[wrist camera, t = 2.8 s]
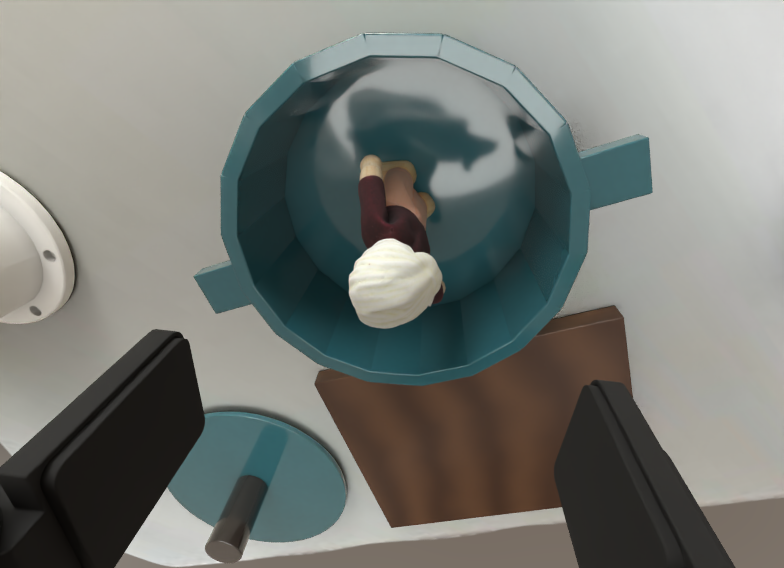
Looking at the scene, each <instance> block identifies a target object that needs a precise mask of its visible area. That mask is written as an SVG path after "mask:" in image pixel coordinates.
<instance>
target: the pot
mask: <svg viewBox="0 0 784 568" xmlns="http://www.w3.org/2000/svg"><path fill="white" fill-rule="evenodd" d="M367 155H376V156H377V157H379V158H380V159H381V162H388V161H399V160H406V161H409V162H411V163H412V164H413V165H414V167H415V170H416V175H417V177H416V181H415V183H414V184H413V188H414V189H415V190H416V191H417V193H419V192H425V193H428V194H429V195H430V196H431V198H432V199H433V201H434V203H435V210H434V212H433V213H432V214H431V215H430V216H429V217H428V218H427V220H426V234H427V238H428V242H429V246H430V256H432V257H433V258H434V259H435V261H436V263H437V265H438V267H439V269H440V271H441V273H442V281H443V282H444V284H445V287H446V289H445V292H444V295H443V298H442V300H441V301H440V302H439V303H436V304H431V306H428V307H427V308H426V309H425V310H424V311H423V312H422V313H421V314H420V315H419V316H417V317H416V318H415V319H414V320H411V321H409V322H407V323H404V324H401V325H398V326H396V327H393V328H387V329H383V328H375V327H371V326H368V325H366V324H364V323H363V322H361V321H360V319H359V317H358V315H357V313H356V309H355V308H354V306H353V304H352V301H351V299H350V296H349V275H350V274H351V272H352V271H353V270H354V264H355V261H356V260H357V259H359V258H361V256H362V255H363V253H364V252H365V251H366V250H367V247H366V246H365V244H364V242H363V239H362V235H361V207H360V201H359V195H358V185H359V181H360V172H361V169H360V163H361V161H362V159H363V158H364V157H365V156H367ZM652 192H653V191H652V177H651V162H650V148H649V138H648V137H646V136H643V135H640V134H636V135H633V136H630V137H627V138H623V139H620V140H617V141H614V142H611V143H607V144H604V145H601V146H598V147H594V148H591V149H588V150H585V151H581V152H578V150H577V147H576V144H575V142H574V139H573V136H572V133H571V130H570V127H569V124H568V123H567V121H566V120H565V119H564V117H563V116H562V115H561V114H560V113H559V112H558V111H557V110H556V109H555V108H554V107H553V105H552V104H551V103H550V102H549V101H548V100H547V99H546V98H545V97H544V96H543V95H542V93H541V92H540V91H539V90H538V89H537V88H536V87H535V86H534V85H533V84H532V83H531V81H530V80H529V79H528V78H527V77H526V76H525V75H524V74H523V73H522V72H521V71H520V69H519V68H518V67H516V66H515V65H513V64H511V63H509V62H506V61H504V60H502V59H500V58H497V57H495V56H493V55H491V54H488V53H486V52H484V51H482V50H479V49H477V48H475V47H473V46H471V45H468V44H466V43H464V42H462V41H459V40H457V39H455V38H453V37H450V36H448V35H446V34H441V33H361V34H359V35H357V36H354V37H352V38H350V39H347V40H345V41H342V42H340V43H338V44H335V45H333V46H331V47H328V48H326V49H323V50H321V51H319V52H316V53H314V54H312V55H309V56H307V57H304V58H302V59H300V60H297V61H295V62H294V63H293V64H291V65H290V66H289V67H288V68H287V69H286V70H285V72H284V73H283V74H282V75H281V76H280V77H279V78H278V79H277V80H276V81H275V82H274V83H273V84H272V85H271V86H270V87H269V88H268V89H267V90H266V91H265V92H264V93H263V94H262V96H261V97H260V98H259V99H258V100H257V101H256V102H255V103H254V104H253V105H252V106H251V107H250V108H249V109H248V110H247V111H246V112H245V115H244V116H243V119H242V121H241V124H240V126H239V129H238V132H237V134H236V137H235V139H234V142H233V145H232V147H231V150H230V152H229V155H228V158H227V160H226V163H225V165H224V168H223V171H222V175H221V236H222V239H223V242H224V245H225V247H226V250H227V253H228V255H229V258H230V260H229V261H226V262H222V263H219V264H216V265H213V266H209V267H206V268H203V269H202V270H200V271H199V272H198V273H197V274H196V275H195V276H194V278H195V280H196V282H197V283H198V285H199V287H200V288H201V290H202V292H203V293H204V295H205V296H206V298H207V300H208V301H209V303H210V305H211V306H212V308H213V310H214V311H215V313H216V314H217V313H221V312H225V311H228V310H232V309H236V308H239V307H243V306H246V305H250V304H252V305H253V306H254V307H255V308H256V310H257V311H258V312H259V313H260V315H261V316H262V317H263V319H264V320H265V321H266V322H267V324H268V325H269V326H270V328H271V329H272V330H273V331H274V332H275V334H276V335H278V336H279V337H281V338H282V339H283V340H285V341H286V342H288V343H289V344H291V345H292V346H293V347H295V348H296V349H298V350H299V351H300V352H302V353H303V354H305V355H306V356H307V357H309V358H310V359H312V360H313V361H314V362H316V363H317V364H320V365H322V366H325V367H327V368H330V369H333V370H336V371H339V372H341V373H344V374H347V375H350V376H353V377H355V378H358V379H361V380H364V381H367V382H368V381H369V382H373V383H386V384H400V385H413V386H425V385H430V384H435V383H440V382H445V381H450V380H455V379H460V378H465V377H470V376H473V375H475V374H477V373H479V372H481V371H483V370H485V369H487V368H489V367H490V366H492V365H494V364H496V363H498V362H500V361H502V360H504V359H506V358H507V357H509V356H511V355H513V354H515V353H517V352H519V351H521V349H523V348H524V347H525V346H526V345H527V344H528V343H529V342H530V341H531V340H532V339H533V338H534V337H535V336H536V335H537V334H538V333H539V332H540V331H541V330H542V329H543V327H544V326H545V325H546V324H547V323H548V322H549V321H550V320H551V319H552V318H553V317H554V316H555V315H556V314H557V313H558V312H559V311H560V310H561V308H562V307H563V305H564V303H565V301H566V298H567V296H568V294H569V292H570V290H571V287H572V285H573V283H574V281H575V279H576V277H577V274H578V272H579V270H580V268H581V266H582V263H583V261H584V259H585V257H586V254H587V250H588V233H589V216H590V210H593V209H596V208H600V207H604V206H607V205H611V204H614V203H618V202H622V201H625V200H629V199H632V198H636V197H640V196H643V195H647V194H651V193H652Z"/></svg>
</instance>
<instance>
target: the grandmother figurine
mask: <svg viewBox="0 0 784 568" xmlns="http://www.w3.org/2000/svg"><path fill="white" fill-rule="evenodd" d="M360 169H361V172H360V181H359V185H358V195H359V201H360V207H361V235H362V239H363V242H364V244H365V246H366V247H367V250H366V251H365V252H364V253H363V255H362V256H361V258H359V259H357V260H356V261H355V264H354V270H353V271H352V272H351V274H350V275H349V296H350V299H351V301H352V304H353V306H354V308H355V309H356V313H357V315H358V317H359V319H360V321H361V322H363V323H364V324H366V325H368V326H371V327H375V328H383V329H387V328H393V327H396V326H398V325H401V324H404V323H407V322H409V321H411V320H414V319H415V318H416V317H417V316H419V315H420V314H421V313H422V312H423V311H424V310H425V309H426V308H427V307H428V306H431V304H436V303H439V302H440V301H441V300H442V298H443V295H444V292H445V289H446V287H445V284H444V282H443V281H442V273H441V271H440V269H439V267H438V265H437V263H436V261H435V259H434V258H433V257H432V256H430V246H429V242H428V238H427V234H426V220H427V218H428V217H429V216H430V215H431V214H432V213H433V212H434V210H435V203H434V201H433V199H432V198H431V196H430V195H429V194H428V193H425V192H419V193H417V191H416V190H415V189H414V188H413V184H414V183H415V181H416V177H417V175H416V170H415V167H414V165H413V164H412V163H411V162H409V161H406V160H399V161H388V162H381V159H380V158H379V157H377V156H376V155H367V156H365V157H364V158H363V159H362V161H361V163H360Z"/></svg>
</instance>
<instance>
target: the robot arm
mask: <svg viewBox="0 0 784 568" xmlns="http://www.w3.org/2000/svg"><path fill="white" fill-rule="evenodd" d="M74 280H75V273H74V263H73V259H72V256H71V252H70V249H69V246H68V244H67V242H66V240H65V238H64V236H63V233H62V231H61V230H60V228H59V227H58V225H57V224H56V222H55V221H54V219H53V218H52V216H51V215H50V214H49V213H48V212H47V211H46V209H45V208H44V207H43V206H42V205H41V204H40V202H39V201H38V200H37V199H36V198H34V197H33V196H32V195H31V194H30V193H29V192H28V191H27V190H26V189H25V188H23V187H22V186H21V185H20V184H18V183H17V182H15V181H14V180H12V179H11V178H10V177H8V176H7V175H5V174H4V173H2V172H0V322H3V323H9V324H27V323H33V322H37V321H40V320H42V319H44V318H47V317H48V316H50V315H51V314H53V313H54V312H56V311H57V310H59V309H61V307H62V306H63V305H64V304H65V303H66V302H67V301H68V299H69V297H70V295H71V293H72V291H73V286H74ZM204 426H205V416H204V411H203V407H202V402H201V397H200V392H199V387H198V383H197V378H196V373H195V368H194V363H193V359H192V354H191V349H190V344H189V341H188V340H187V339H184V338H183V335H182V334H181V333H180V332H175V331H167V330H158V329H155V330H152V331H151V332H149V333H148V334H147V335H146V336H145V337H144V338H142V339H141V340H140V341H139V342H138V343H137V344H136V345H135V346H134V347H133V348H131V349H130V350H129V351H128V352H127V353H126V354H125V355H124V356H123V357H121V358H120V359H119V360H118V361H117V362H116V363H115V364H114V365H113V366H111V367H110V368H109V369H108V370H107V371H106V372H105V373H104V374H103V375H102V376H100V377H99V378H98V379H97V380H96V381H95V382H94V383H93V384H92V385H90V386H89V387H88V388H87V389H86V390H85V391H84V392H83V393H82V394H81V395H79V396H78V397H77V398H76V399H75V400H74V401H73V402H72V403H71V404H69V405H68V406H67V407H66V408H65V409H64V410H63V411H62V412H61V413H60V414H58V415H57V416H56V417H55V418H54V419H53V420H52V421H51V422H50V423H48V424H47V425H46V426H45V427H44V428H43V429H42V430H41V431H40V432H39V433H37V434H36V435H35V436H34V437H33V438H32V439H31V440H30V441H29V442H27V443H26V444H25V445H24V446H23V447H22V448H21V449H20V450H19V451H18V452H16V453H15V454H14V455H13V456H12V457H11V458H10V459H9V460H8V461H7V462H6V463H5V464H3V465H2V466H1V467H0V568H114V567H115V566H116V564H117V563H118V561H119V560H120V558H121V557H122V555H123V554H124V552H125V551H126V549H127V548H128V546H129V544H130V543H131V541H132V540H133V538H134V537H135V535H136V534H137V532H138V531H139V529H140V528H141V526H142V525H143V523H144V522H145V520H146V518H147V517H148V515H149V514H150V512H151V511H152V509H153V508H154V506H155V505H156V503H157V502H158V500H159V499H160V497H161V496H162V494H163V492H164V491H165V489H166V488H167V486H168V485H169V483H170V482H171V480H172V479H173V477H174V476H175V474H176V473H177V471H178V469H179V468H180V466H181V465H182V463H183V462H184V460H185V459H186V457H187V456H188V454H189V453H190V451H191V450H192V448H193V447H194V445H195V443H196V442H197V440H198V439H199V437H200V436H201V434H202V432H203V430H204ZM554 479H555V483H556V487H557V490H558V494H559V497H560V501H561V505H562V508H563V512H564V515H565V519H566V523H567V526H568V530H569V533H570V537H571V540H572V544H573V547H574V551H575V555H576V558H577V562H578V565H579V568H735V566H734V565H733V563H732V561H731V559H730V558H729V556H728V554H727V553H726V551H725V549H724V548H723V546H722V544H721V543H720V541H719V539H718V538H717V536H716V534H715V532H714V531H713V529H712V528H711V526H710V524H709V522H708V521H707V519H706V517H705V516H704V514H703V512H702V511H701V509H700V507H699V505H698V504H697V502H696V500H695V499H694V497H693V495H692V494H691V492H690V490H689V489H688V487H687V485H686V484H685V482H684V480H683V479H682V477H681V475H680V473H679V472H678V470H677V468H676V467H675V465H674V463H673V462H672V460H671V458H670V457H669V456H668V454H667V453H666V452H665V451H664V450H663V449H662V447H661V446H660V444H659V442H658V441H657V439H656V437H655V435H654V434H653V432H652V430H651V429H650V427H649V425H648V423H647V422H646V420H645V418H644V417H643V415H642V413H641V412H640V410H639V408H638V406H637V405H636V403H635V401H634V400H633V398H632V396H631V394H630V393H629V391H628V389H627V388H626V386H625V385H624V384H623V383H621V382H613V381H605V380H593V381H592V382H591V384H590V385H584V386H583V388H582V390H581V393H580V396H579V398H578V401H577V404H576V407H575V409H574V412H573V415H572V418H571V420H570V423H569V426H568V429H567V431H566V434H565V437H564V439H563V442H562V445H561V448H560V450H559V453H558V456H557V459H556V461H555V465H554Z"/></svg>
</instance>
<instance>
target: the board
mask: <svg viewBox="0 0 784 568" xmlns="http://www.w3.org/2000/svg"><path fill="white" fill-rule="evenodd" d="M593 380H605V381H613V382H621V383H623V384H624V385H625V386H626V388H627V389H628V391H629V393H630V394H631V396H632V398H633V395H632V386H631V377H630V368H629V360H628V351H627V342H626V334H625V325H624V317H623V316H622V315H621V313H620V312H619V311H618V309H617V308H616V307H615V306H611V307H606V308H602V309H597V310H593V311H588V312H584V313H579V314H575V315H570V316H566V317H561V318H557V319H553V320H550V321H549V322H548V323H547V324H546V325H545V326H544V327H543V329H542V330H541V331H540V332H539V333H538V334H537V335H536V336H535V337H534V338H533V339H532V340H531V341H530V342H529V343H528V344H527V345H526V346H525V347H524V348H523V349H521V351H519V352H517V353H515V354H513V355H511V356H509V357H507V358H506V359H504V360H502V361H500V362H498V363H496V364H494V365H492V366H490V367H489V368H487V369H485V370H483V371H481V372H479V373H477V374H475V375H473V376H470V377H465V378H460V379H455V380H450V381H445V382H440V383H435V384H430V385H425V386H413V385H400V384H386V383H373V382H369V381H368V382H367V381H364V380H361V379H358V378H355V377H353V376H350V375H347V374H344V373H341V372H339V371H336V370H333V369H329V370H324V371H320V372H319V373H318V376H317V378H316V381H315V386H316V388H317V390H318V392H319V394H320V396H321V398H322V399H323V401H324V403H325V405H326V407H327V409H328V411H329V412H330V414H331V416H332V418H333V420H334V422H335V424H336V425H337V427H338V429H339V431H340V433H341V435H342V437H343V439H344V440H345V442H346V444H347V446H348V448H349V450H350V452H351V453H352V455H353V457H354V459H355V461H356V463H357V465H358V466H359V468H360V470H361V472H362V474H363V476H364V478H365V480H366V481H367V483H368V485H369V487H370V489H371V491H372V493H373V494H374V496H375V498H376V500H377V502H378V504H379V506H380V507H381V509H382V511H383V513H384V515H385V517H386V519H387V521H388V522H389V524H390V526H391V528H394V527H402V526H411V525H419V524H427V523H435V522H443V521H452V520H460V519H468V518H476V517H484V516H493V515H501V514H509V513H517V512H526V511H534V510H542V509H550V508H558V507H562V505H561V501H560V497H559V494H558V490H557V487H556V483H555V479H554V465H555V461H556V459H557V456H558V453H559V450H560V448H561V445H562V442H563V439H564V437H565V434H566V431H567V429H568V426H569V423H570V420H571V418H572V415H573V412H574V409H575V407H576V404H577V401H578V398H579V396H580V393H581V390H582V388H583V386H584V385H590V384H591V382H592V381H593Z"/></svg>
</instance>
